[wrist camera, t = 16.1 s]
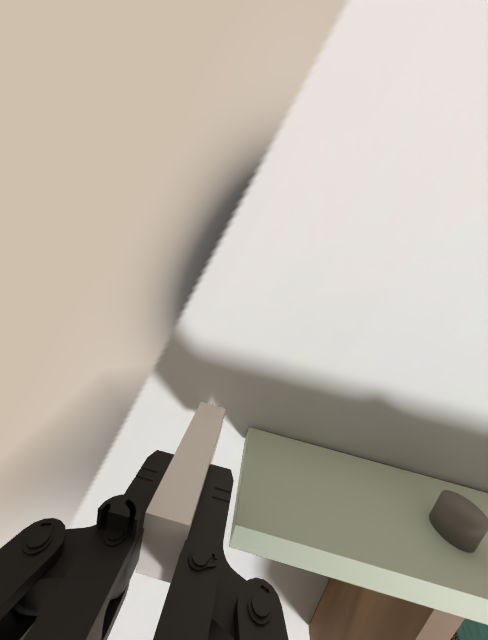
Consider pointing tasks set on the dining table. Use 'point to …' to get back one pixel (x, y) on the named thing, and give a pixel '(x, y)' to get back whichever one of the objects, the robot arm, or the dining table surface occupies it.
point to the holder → (376, 616)
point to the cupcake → (472, 630)
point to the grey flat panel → (363, 523)
